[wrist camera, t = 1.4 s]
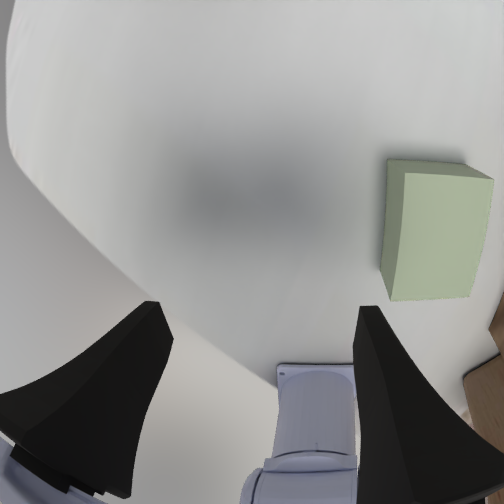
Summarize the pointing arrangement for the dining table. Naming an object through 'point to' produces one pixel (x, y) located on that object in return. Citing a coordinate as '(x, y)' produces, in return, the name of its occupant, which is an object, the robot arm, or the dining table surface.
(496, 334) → the notched wooden bar
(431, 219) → the sage block
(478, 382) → the block
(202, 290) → the dining table surface
